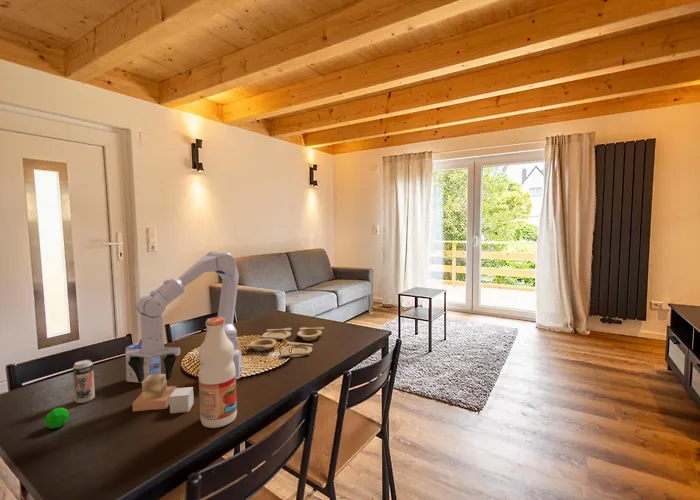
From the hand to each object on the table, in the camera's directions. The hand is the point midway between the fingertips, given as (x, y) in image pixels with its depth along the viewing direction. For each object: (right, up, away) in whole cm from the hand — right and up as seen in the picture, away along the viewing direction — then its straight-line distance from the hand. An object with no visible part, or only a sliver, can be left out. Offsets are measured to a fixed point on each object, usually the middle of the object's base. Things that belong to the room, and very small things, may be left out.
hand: (155, 379), depth 103 cm
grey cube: (+10, -7, -3) cm, 12 cm away
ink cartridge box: (-13, -6, +16) cm, 21 cm away
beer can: (-23, -7, +2) cm, 24 cm away
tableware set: (+30, -4, +51) cm, 59 cm away
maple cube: (0, -5, 0) cm, 5 cm away
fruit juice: (+23, -8, -9) cm, 26 cm away
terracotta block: (0, -8, 0) cm, 8 cm away
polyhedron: (-19, -8, -12) cm, 24 cm away
